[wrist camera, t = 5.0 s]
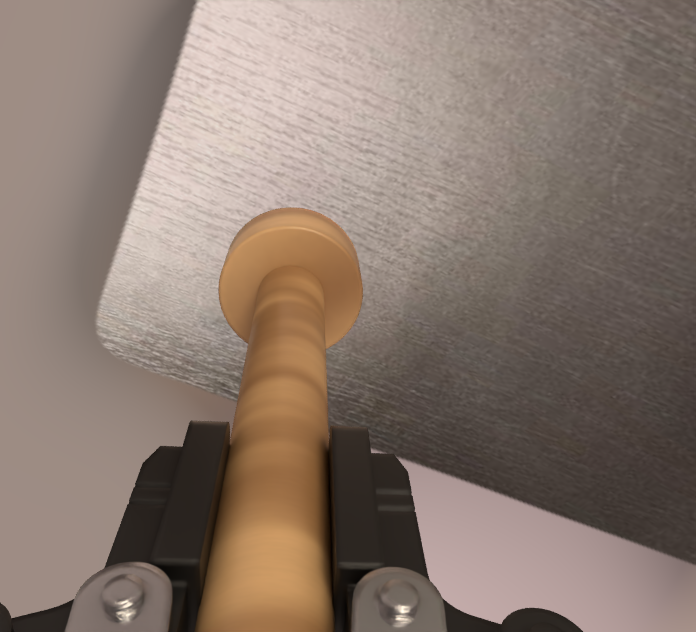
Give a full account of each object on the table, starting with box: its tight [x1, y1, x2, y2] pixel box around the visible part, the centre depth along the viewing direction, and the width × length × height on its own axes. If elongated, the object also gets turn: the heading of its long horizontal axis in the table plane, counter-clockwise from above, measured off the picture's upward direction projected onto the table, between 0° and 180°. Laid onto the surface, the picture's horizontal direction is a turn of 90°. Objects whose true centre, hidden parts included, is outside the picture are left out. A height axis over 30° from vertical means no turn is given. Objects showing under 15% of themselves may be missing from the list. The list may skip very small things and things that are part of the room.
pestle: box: [194, 208, 363, 632], centre depth 15 cm, size 4×4×15 cm
